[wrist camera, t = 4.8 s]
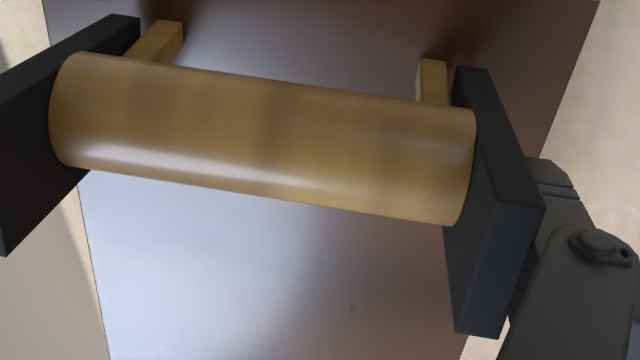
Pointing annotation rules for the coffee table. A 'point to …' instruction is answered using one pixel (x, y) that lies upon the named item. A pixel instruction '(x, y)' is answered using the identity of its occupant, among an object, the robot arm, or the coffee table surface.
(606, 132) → the coffee table surface
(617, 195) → the coffee table surface
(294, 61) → the chest lid
